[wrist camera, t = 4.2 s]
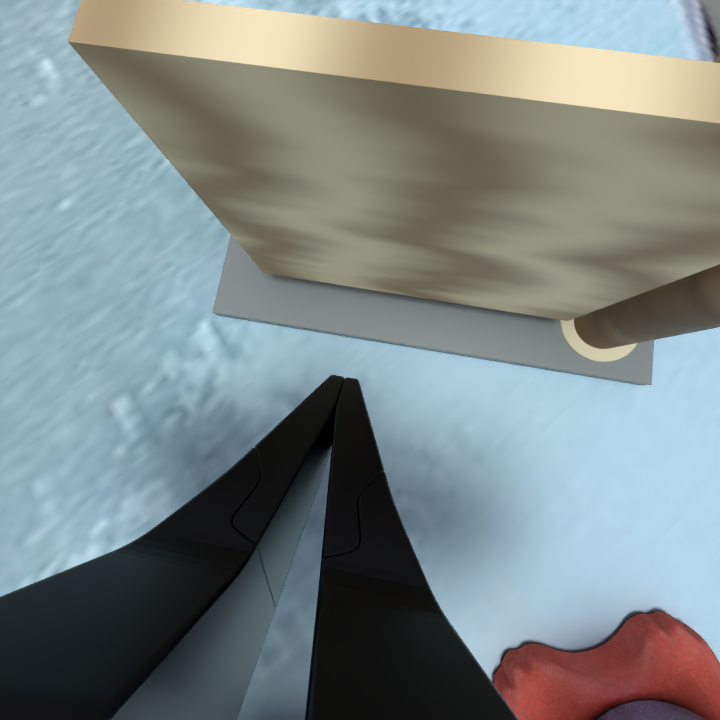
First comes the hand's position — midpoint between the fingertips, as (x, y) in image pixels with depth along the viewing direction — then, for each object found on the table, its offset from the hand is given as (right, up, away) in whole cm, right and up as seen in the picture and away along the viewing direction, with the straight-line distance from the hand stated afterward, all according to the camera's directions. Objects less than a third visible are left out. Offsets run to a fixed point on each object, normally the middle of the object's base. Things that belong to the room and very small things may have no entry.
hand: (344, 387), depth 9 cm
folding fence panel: (+3, +5, +7) cm, 9 cm away
